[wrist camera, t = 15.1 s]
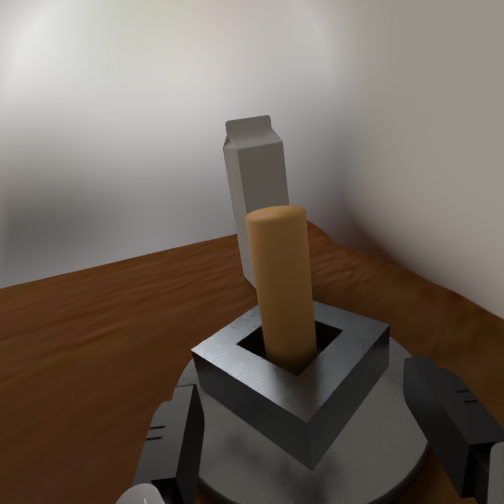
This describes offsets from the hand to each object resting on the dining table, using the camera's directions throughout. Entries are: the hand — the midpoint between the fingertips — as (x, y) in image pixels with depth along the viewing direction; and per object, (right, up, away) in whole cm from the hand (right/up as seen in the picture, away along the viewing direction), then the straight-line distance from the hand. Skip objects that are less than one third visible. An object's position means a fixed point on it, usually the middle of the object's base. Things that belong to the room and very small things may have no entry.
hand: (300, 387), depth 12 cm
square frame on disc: (+2, -6, +15) cm, 16 cm away
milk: (+1, +1, +35) cm, 35 cm away
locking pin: (+2, -5, +14) cm, 15 cm away
